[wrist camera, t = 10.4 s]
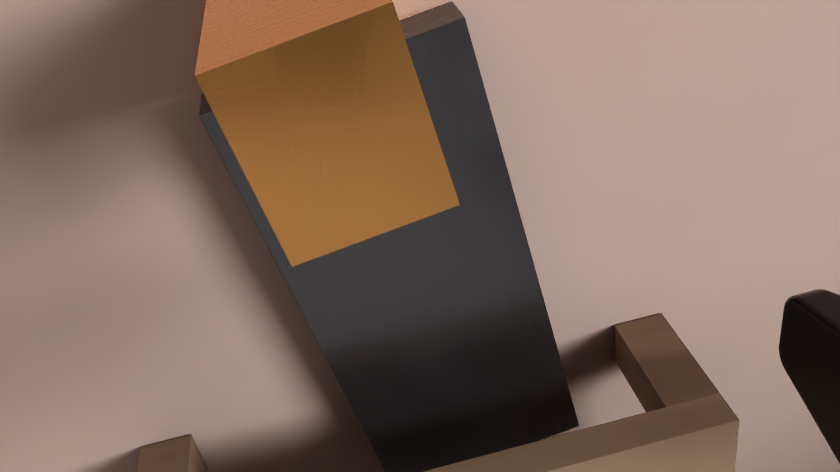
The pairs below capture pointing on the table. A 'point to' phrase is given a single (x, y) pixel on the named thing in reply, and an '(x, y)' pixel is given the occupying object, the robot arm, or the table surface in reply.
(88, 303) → the table surface
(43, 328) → the table surface
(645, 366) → the small wooden bench
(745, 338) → the table surface
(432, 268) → the orange grey l-shaped block
